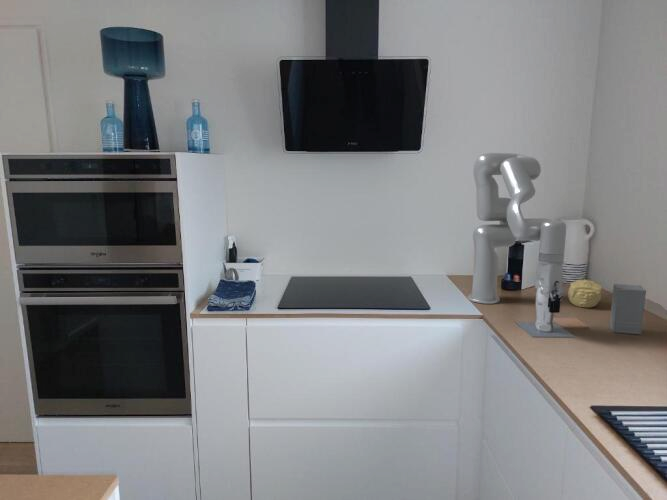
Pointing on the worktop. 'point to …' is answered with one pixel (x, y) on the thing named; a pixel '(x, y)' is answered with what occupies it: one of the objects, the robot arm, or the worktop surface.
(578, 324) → the coaster
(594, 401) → the worktop surface
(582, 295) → the sculpture
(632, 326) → the skincare box
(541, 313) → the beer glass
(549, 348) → the worktop surface
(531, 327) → the blue-grey tile
